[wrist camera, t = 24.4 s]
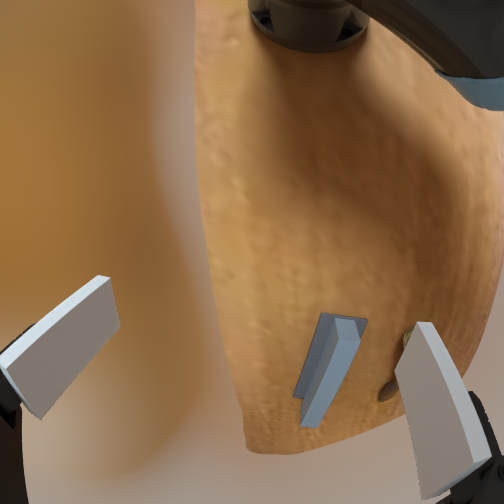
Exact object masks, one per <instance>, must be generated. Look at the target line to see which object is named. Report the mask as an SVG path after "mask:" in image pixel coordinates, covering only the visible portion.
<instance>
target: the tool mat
mask: <svg viewBox="0 0 504 504" xmlns="http://www.w3.org/2000/svg"><path fill="white" fill-rule="evenodd" d="M335 318H341V319H348V320H355V323H356V327H357V330H358V334H359V337H360V339H361V336H362V334H363V332H364V329H365V327H366V324H367V322H368V321H367V319H362V318H355V317H348V316H341V315H334V314H328V313H322V312H321V315H320V318H319V321H318V324H317V328H316V331H315V334H314V337H313V340H312V343H311V346H310V349H309V352H308V355H307V358H306V361H305V363H304V366H303V369H302V372H301V375H300V377H299V380H298V383H297V386H296V388H295V391H294V393H293V397H297V398H304V397H305V395H306V392H307V390H308V388H309V385H310V383H311V381H312V378H313V376H314V373H315V371H316V368H317V366H318V363H319V360H320V358H321V355H322V352H323V350H324V347H325V344H326V342H327V339H328V336H329V333H330V330H331V328H332V325H333V322H334V319H335Z"/></svg>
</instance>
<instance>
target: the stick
mask: <svg viewBox="0 0 504 504" xmlns="http://www.w3.org/2000/svg"><path fill="white" fill-rule="evenodd" d="M360 343H361V341H360V337H359V334H358V330H357V327H356V323H355V320H348V319H341V318H335V319H334V322H333V325H332V328H331V330H330V333H329V336H328V339H327V342H326V344H325V347H324V350H323V352H322V355H321V358H320V360H319V363H318V366H317V368H316V371H315V373H314V376H313V378H312V381H311V383H310V385H309V388H308V390H307V392H306V395H305V397H304V399H303V402H302V404H301V416H300V426H301V427H311V428H317V427H318V425H319V424H320V422H321V420H322V419H323V417H324V415H325V413H326V411H327V410H328V408H329V406H330V404H331V402H332V401H333V399H334V397H335V395H336V393H337V391H338V389H339V387H340V385H341V383H342V381H343V379H344V377H345V375H346V373H347V371H348V369H349V367H350V365H351V363H352V360H353V358H354V356H355V354H356V352H357V349H358V347H359V345H360Z"/></svg>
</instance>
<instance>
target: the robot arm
mask: <svg viewBox="0 0 504 504" xmlns="http://www.w3.org/2000/svg"><path fill="white" fill-rule="evenodd" d="M248 8H249V11H250V14H251V17H252V19H253V21H254V23H255V25H256V26H257V28H258V29H259V30H260V31H261V32H262V33H263V34H264V35H265V36H267V37H268V38H269V39H271V40H272V41H274V42H276V43H278V44H280V45H282V46H285V47H287V48H290V49H294V50H298V51H303V52H312V53H323V52H332V51H336V50H340V49H343V48H345V47H347V46H349V45H351V44H353V43H354V42H355V41H357V40H358V39H359V38H360V36H361V35H362V34H363V32H364V30H365V28H366V27H367V24H368V22H369V18H370V17H371V18H373V19H374V20H376V21H377V22H379V23H380V24H382V25H383V26H384V27H386V28H387V29H388V30H390V31H391V32H392V33H394V34H395V35H396V36H398V37H399V38H400V39H401V40H403V41H404V42H405V43H406V44H407V45H409V46H410V47H411V48H412V49H413V50H414V51H416V52H417V53H418V54H419V55H420V56H421V57H422V58H423V59H424V60H425V61H427V62H428V63H429V64H430V65H431V66H432V68H433V69H434V71H435V72H436V73H437V74H438V75H439V76H440V77H442V78H444V79H446V80H447V81H448V82H449V83H450V84H451V85H452V86H453V87H454V88H455V89H456V90H457V91H458V92H459V93H460V94H461V95H462V96H463V97H464V98H465V99H466V100H467V101H468V102H470V103H471V104H473V105H475V106H477V107H480V108H484V109H487V110H490V111H504V0H248ZM120 327H121V326H120V322H119V318H118V313H117V309H116V304H115V300H114V295H113V289H112V284H111V279H110V278H109V277H104V276H100V275H98V276H96V277H95V278H94V279H92V280H91V281H90V282H88V283H87V284H86V285H84V286H83V287H82V288H80V289H79V290H78V291H76V292H75V293H74V294H72V295H71V296H70V297H69V298H67V299H66V300H65V301H64V302H62V303H61V304H60V305H58V306H57V307H56V308H55V309H53V310H52V311H51V312H50V313H48V314H47V315H46V316H45V317H44V318H42V319H41V320H40V321H39V322H37V323H35V324H33V325H31V326H29V327H28V328H27V329H26V330H25V331H23V333H22V334H20V335H19V336H18V337H16V340H15V339H14V340H13V341H12V342H11V343H10V344H9V345H7V346H6V347H5V348H4V349H3V350H2V351H1V352H0V504H29V502H28V497H27V491H26V484H25V476H24V467H23V453H22V408H21V406H20V404H21V402H23V404H24V405H25V407H26V408H27V409H28V411H29V412H30V413H32V414H33V415H34V416H36V417H37V418H38V419H39V420H42V418H43V417H44V416H45V415H46V413H47V412H48V411H49V410H50V408H51V407H52V406H53V405H54V403H55V402H56V401H57V400H58V398H59V397H60V396H61V395H62V394H63V392H64V391H65V390H66V389H67V388H68V386H69V385H70V384H71V383H72V382H73V380H74V379H75V378H76V377H77V376H78V375H79V373H80V372H81V371H82V370H83V369H84V368H85V366H86V365H87V364H88V363H89V362H90V361H91V360H92V358H93V357H94V356H95V355H96V354H97V353H98V352H99V350H100V349H101V348H102V347H103V346H104V345H105V344H106V343H107V342H108V340H109V339H110V338H111V337H112V336H113V335H114V334H115V333H116V331H117V330H118V329H119V328H120ZM394 371H395V375H396V378H397V382H398V385H399V389H400V392H401V396H402V400H403V404H404V408H405V412H406V416H407V420H408V425H409V429H410V434H411V439H412V444H413V449H414V454H415V460H416V466H417V472H418V478H419V486H420V494H421V500H425V499H429V498H433V497H436V496H440V495H441V494H442V493H444V492H446V491H447V490H449V489H450V491H451V494H450V495H449V496H447V497H445V498H444V499H442V500H440V501H439V502H437V503H436V504H504V456H502V454H501V452H500V449H499V446H498V443H497V440H496V438H495V435H494V432H493V429H492V427H491V424H490V422H488V417H487V414H486V413H485V410H484V407H483V406H482V403H481V401H480V399H479V398H478V397H477V396H476V395H475V394H474V392H473V391H468V392H467V389H466V387H465V385H464V383H463V381H462V379H461V376H460V374H459V372H458V370H457V368H456V366H455V364H454V362H453V360H452V358H451V357H450V355H449V353H448V351H447V349H446V347H445V345H444V343H443V342H442V340H441V338H440V336H439V334H438V333H437V331H436V329H435V327H434V326H433V324H432V322H417V323H416V325H415V327H414V330H413V332H412V334H411V337H410V339H409V341H408V343H407V345H406V348H405V350H404V352H403V354H402V356H401V358H400V360H399V362H398V364H397V366H396V368H395V370H394Z"/></svg>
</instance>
